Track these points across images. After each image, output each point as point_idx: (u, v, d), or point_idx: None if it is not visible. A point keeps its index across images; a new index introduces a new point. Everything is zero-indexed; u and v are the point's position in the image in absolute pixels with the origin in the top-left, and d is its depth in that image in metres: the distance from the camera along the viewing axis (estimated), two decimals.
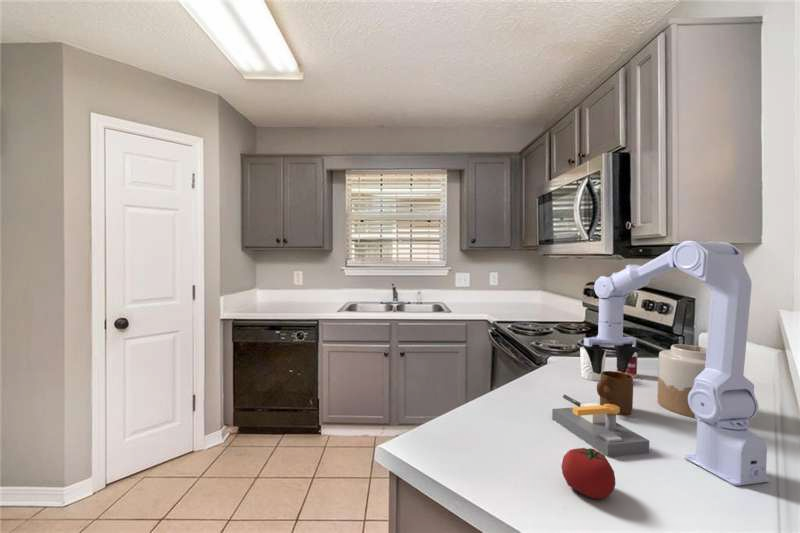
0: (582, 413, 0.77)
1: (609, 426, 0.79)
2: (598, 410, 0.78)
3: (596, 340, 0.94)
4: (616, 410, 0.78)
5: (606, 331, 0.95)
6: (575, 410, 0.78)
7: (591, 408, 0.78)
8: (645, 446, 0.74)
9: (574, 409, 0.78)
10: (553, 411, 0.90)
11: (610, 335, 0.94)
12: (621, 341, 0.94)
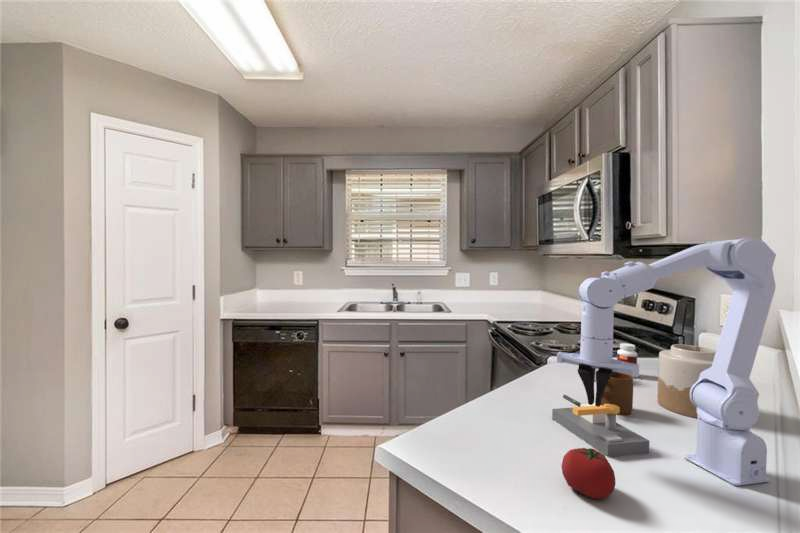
0: (582, 413, 0.77)
1: (609, 426, 0.79)
2: (598, 410, 0.78)
3: (566, 356, 0.75)
4: (616, 410, 0.78)
5: (581, 347, 0.73)
6: (575, 410, 0.78)
7: (591, 408, 0.78)
8: (645, 446, 0.74)
9: (574, 409, 0.78)
10: (553, 411, 0.90)
11: (583, 353, 0.72)
12: (597, 363, 0.70)
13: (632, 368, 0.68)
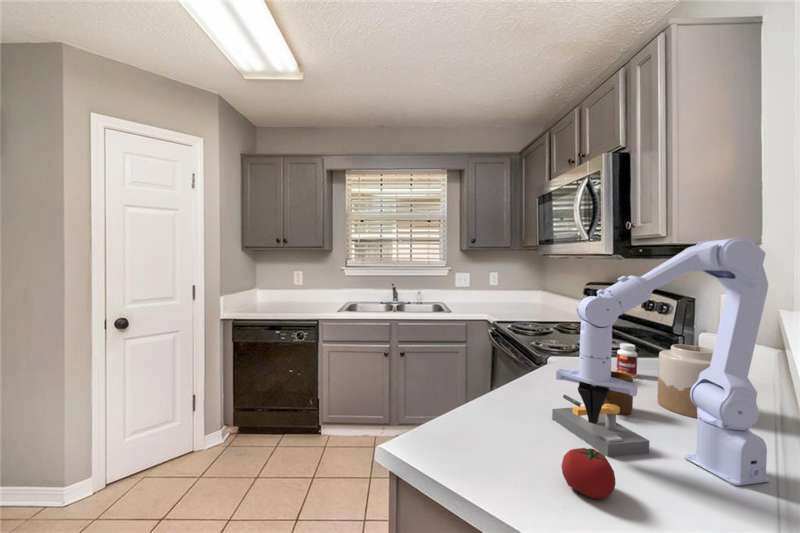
0: (582, 413, 0.77)
1: (609, 426, 0.79)
2: None
3: (565, 373, 0.76)
4: (616, 410, 0.78)
5: (580, 365, 0.74)
6: (575, 410, 0.78)
7: None
8: (645, 446, 0.74)
9: (574, 409, 0.78)
10: (553, 411, 0.90)
11: (582, 371, 0.73)
12: (595, 382, 0.71)
13: (630, 388, 0.69)
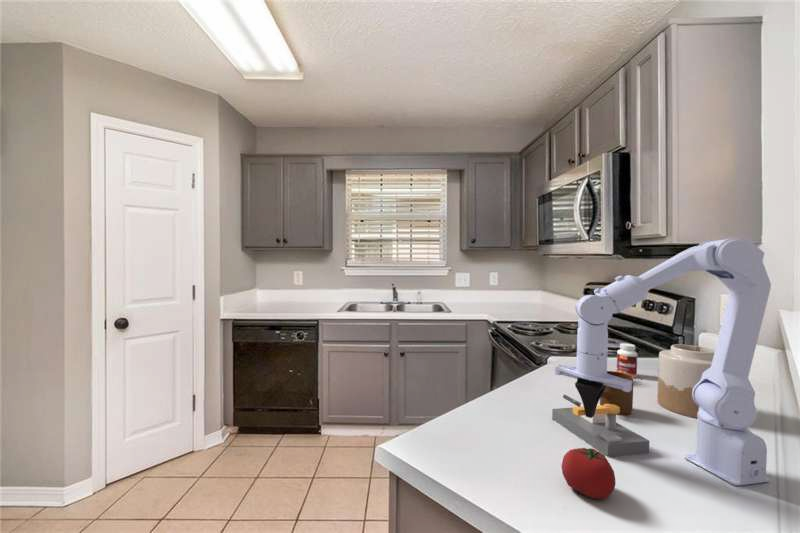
0: (582, 413, 0.77)
1: (609, 426, 0.79)
2: (598, 410, 0.78)
3: (563, 369, 0.79)
4: (616, 410, 0.78)
5: None
6: (575, 410, 0.78)
7: None
8: (645, 446, 0.74)
9: (574, 409, 0.78)
10: (553, 411, 0.90)
11: (578, 366, 0.76)
12: (590, 377, 0.74)
13: (623, 383, 0.71)
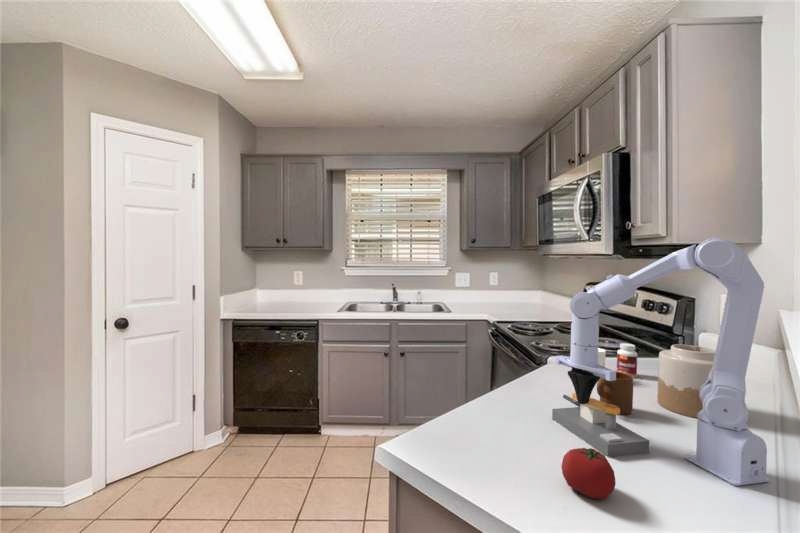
0: (576, 398, 0.86)
1: (609, 426, 0.79)
2: (592, 402, 0.83)
3: (561, 358, 0.88)
4: (607, 409, 0.79)
5: None
6: None
7: None
8: (645, 446, 0.74)
9: None
10: (553, 411, 0.90)
11: (570, 356, 0.84)
12: (577, 366, 0.82)
13: (605, 373, 0.77)
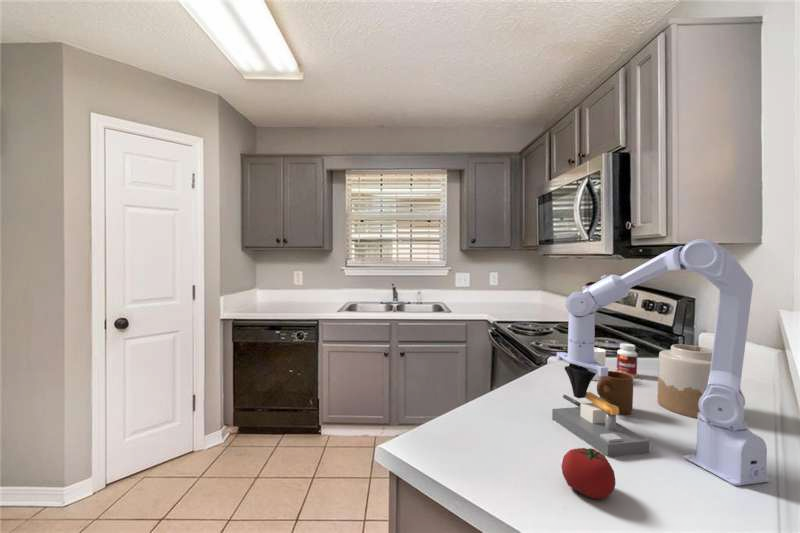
0: (586, 397, 0.87)
1: (609, 426, 0.79)
2: (596, 401, 0.83)
3: (560, 355, 0.92)
4: (605, 408, 0.79)
5: None
6: None
7: (594, 397, 0.85)
8: (645, 446, 0.74)
9: None
10: (553, 411, 0.90)
11: None
12: (573, 361, 0.86)
13: (597, 368, 0.81)
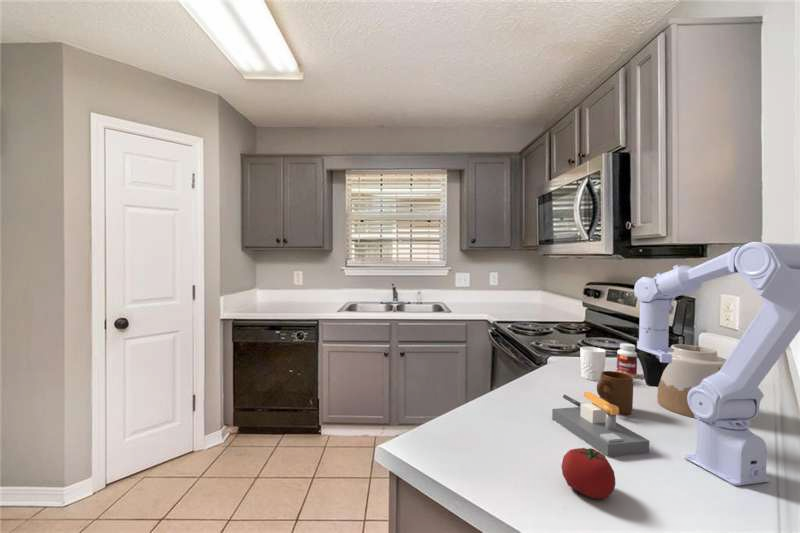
0: (586, 397, 0.87)
1: (609, 426, 0.79)
2: (596, 401, 0.83)
3: (638, 343, 0.91)
4: (605, 408, 0.79)
5: None
6: None
7: (594, 397, 0.85)
8: (645, 446, 0.74)
9: None
10: (553, 411, 0.90)
11: None
12: (640, 347, 0.85)
13: (659, 354, 0.79)
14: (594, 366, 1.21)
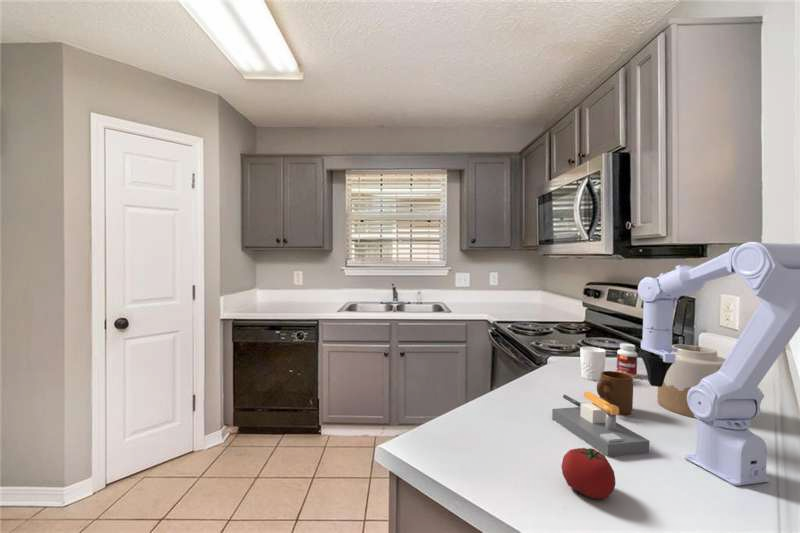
0: (586, 397, 0.87)
1: (609, 426, 0.79)
2: (596, 401, 0.83)
3: None
4: (605, 408, 0.79)
5: None
6: None
7: (594, 397, 0.85)
8: (645, 446, 0.74)
9: None
10: (553, 411, 0.90)
11: None
12: (644, 347, 0.85)
13: (662, 354, 0.80)
14: (594, 366, 1.21)
